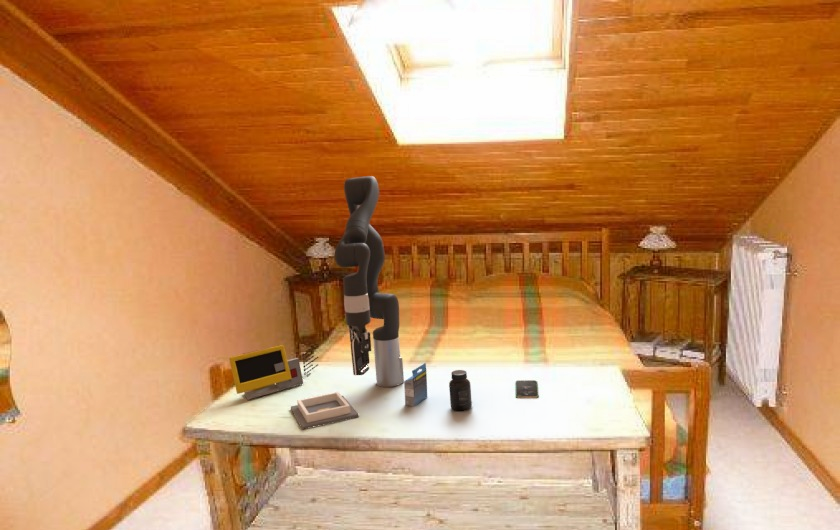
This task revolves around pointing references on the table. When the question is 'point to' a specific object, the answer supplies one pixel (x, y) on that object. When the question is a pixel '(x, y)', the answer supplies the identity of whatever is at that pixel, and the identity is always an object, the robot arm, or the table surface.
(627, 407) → the table surface
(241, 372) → the toy computer monitor
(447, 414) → the table surface
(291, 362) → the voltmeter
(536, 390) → the smartphone
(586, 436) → the table surface
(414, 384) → the label tape box
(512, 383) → the table surface
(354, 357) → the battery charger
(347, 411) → the tray
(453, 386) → the supplement bottle
